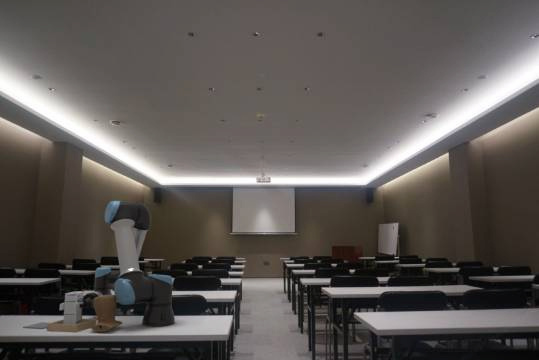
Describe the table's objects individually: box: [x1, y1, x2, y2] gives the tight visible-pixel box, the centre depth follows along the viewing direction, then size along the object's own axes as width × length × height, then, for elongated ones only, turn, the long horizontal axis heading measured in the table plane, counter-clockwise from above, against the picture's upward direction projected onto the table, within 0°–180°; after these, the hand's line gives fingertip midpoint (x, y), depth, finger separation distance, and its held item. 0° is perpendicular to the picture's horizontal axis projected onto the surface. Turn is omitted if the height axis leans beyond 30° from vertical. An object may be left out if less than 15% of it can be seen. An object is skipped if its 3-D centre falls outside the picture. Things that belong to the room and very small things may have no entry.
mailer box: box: [46, 318, 98, 333], centre depth 179 cm, size 15×26×3 cm, turn 169°
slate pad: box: [22, 321, 49, 330], centre depth 177 cm, size 11×11×1 cm
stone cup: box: [91, 293, 123, 333], centre depth 170 cm, size 15×12×15 cm
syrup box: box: [63, 290, 84, 325], centre depth 174 cm, size 6×6×14 cm
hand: (67, 307), depth 169 cm, fingers closed on syrup box, 6 cm apart
